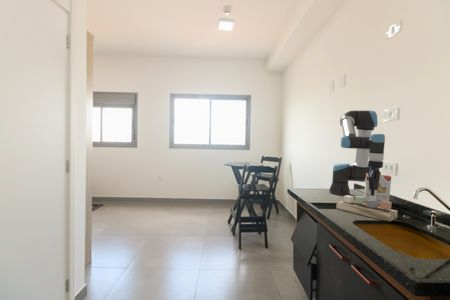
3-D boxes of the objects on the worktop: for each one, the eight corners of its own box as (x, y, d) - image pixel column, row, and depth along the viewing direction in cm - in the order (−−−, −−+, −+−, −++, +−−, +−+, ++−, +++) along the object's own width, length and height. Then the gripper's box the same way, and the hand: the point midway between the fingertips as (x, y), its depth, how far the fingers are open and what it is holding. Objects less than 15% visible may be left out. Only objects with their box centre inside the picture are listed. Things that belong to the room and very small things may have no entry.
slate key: (369, 209, 165) (370, 199, 165) (377, 211, 162) (378, 201, 161) (366, 210, 162) (367, 200, 162) (374, 212, 159) (375, 202, 158)
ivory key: (346, 204, 175) (346, 195, 175) (353, 206, 172) (353, 196, 172) (342, 205, 172) (343, 196, 172) (350, 207, 169) (350, 197, 169)
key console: (345, 205, 180) (345, 199, 180) (397, 217, 158) (397, 210, 157) (336, 208, 172) (336, 202, 172) (389, 221, 150) (390, 214, 149)
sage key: (357, 205, 170) (358, 195, 170) (365, 206, 167) (365, 197, 166) (354, 206, 167) (355, 196, 167) (362, 207, 164) (362, 198, 164)
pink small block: (382, 210, 160) (383, 200, 159) (390, 212, 157) (391, 202, 156) (379, 211, 157) (380, 201, 156) (388, 213, 154) (388, 203, 153)
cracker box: (364, 206, 181) (366, 174, 179) (363, 203, 186) (365, 173, 185) (388, 209, 176) (391, 176, 174) (387, 206, 181) (389, 175, 180)
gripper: (373, 159, 167) (370, 198, 169) (364, 160, 158) (361, 201, 160) (386, 160, 161) (383, 200, 163) (378, 161, 153) (375, 203, 154)
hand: (372, 200), depth 161 cm, fingers closed
